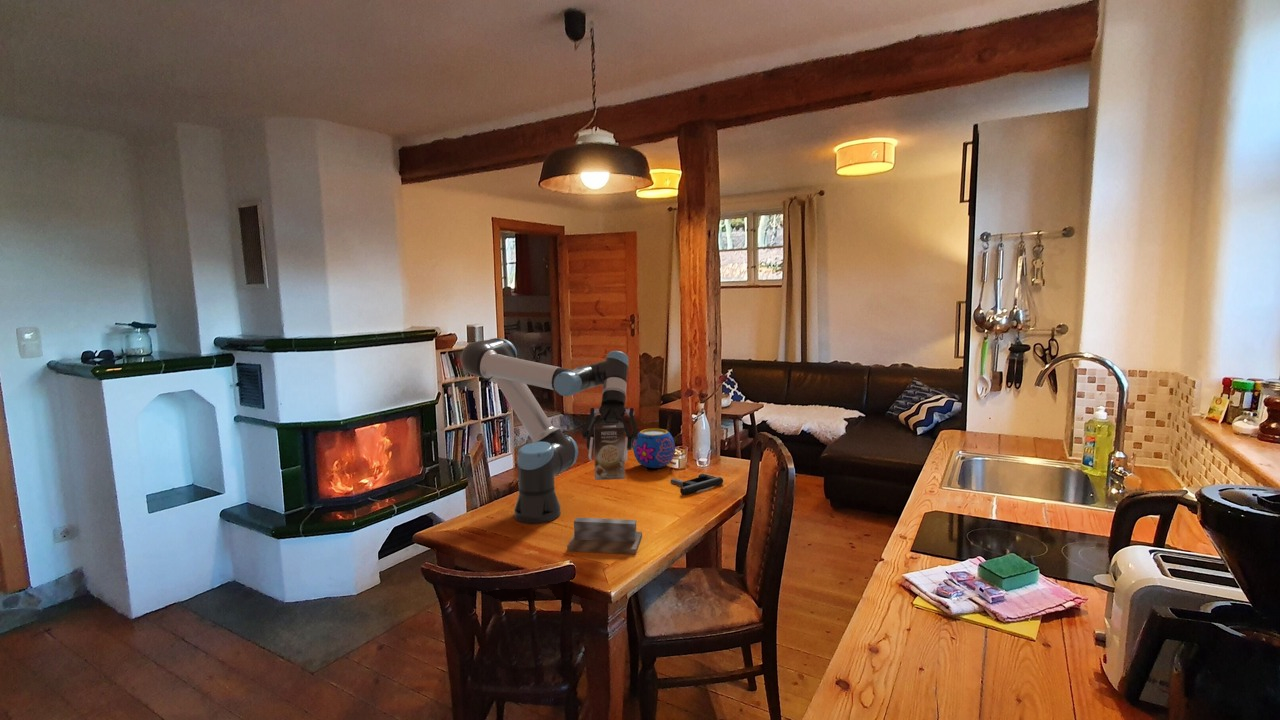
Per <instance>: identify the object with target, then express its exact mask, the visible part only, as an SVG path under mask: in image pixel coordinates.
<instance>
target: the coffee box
mask: <svg viewBox="0 0 1280 720" xmlns="http://www.w3.org/2000/svg"><path fill="white" fill-rule="evenodd" d="M593 427H594V450H593V456H594V457H593V458H594V479H595V481H608V480H612V481H613V480H626V473H625V471H626V470H625V468H626V466H625V465H626V464H625V462H626V461H624V445H625V432H624V425H623V423H619V422H606V423H597V422H593Z"/></svg>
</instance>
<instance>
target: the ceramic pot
mask: <svg viewBox="0 0 1280 720" xmlns="http://www.w3.org/2000/svg"><path fill="white" fill-rule="evenodd" d="M637 433H638V439H634V440H632V451H633V454H634V457H635V459H636V461H637V463H638V464H640V465H641V466H643V467H646V468H649V469H659V468H664V467H665V466H667V465H669V464H670V463H672V461H673V459H674V456H675V454H676V443H675V440H674V438H673V436H672V434H671V432H669V431H668V430H667V429H663V428H656V427H655V428H646V429H642V430H640V431H638V432H637ZM674 453H675V454H674Z"/></svg>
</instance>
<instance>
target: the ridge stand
mask: <svg viewBox="0 0 1280 720" xmlns="http://www.w3.org/2000/svg"><path fill="white" fill-rule="evenodd" d="M573 530H574V531H573V535H572V537H571V539H570V541H568V544H567V545H566V550H567V552H568V551H569V552H581V553H582V552H584V553H585V552H586V553H601V554H602V553H604V554H622V555H623V554H624V555H625V554H626V555H637V553H638V550H639V546H640V544H641V541H642V538H643V531H637V520H636V519H624V518H623V519H620V518H602V517H601V518H596V517H575V519H574V520H573Z"/></svg>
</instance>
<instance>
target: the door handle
mask: <svg viewBox="0 0 1280 720" xmlns="http://www.w3.org/2000/svg"><path fill="white" fill-rule="evenodd" d="M723 483H724V479H723V478H722V477H721V476H714V475H710V474H707V473H700V474H699V475H698V477H696V478H692V479H689V480H680V479H678V478H675V477H674V478H671V479H670V484H673V485H676V486H677V487H678V486H679V487H680V489H679V492H680V495H682V496H687V495H690V494H691V495H692V494H693V493H697V494H698V493H701V492H704V491H708V490H710V489H711V490H712V489H714V487H717V486H720V485H722V484H723Z"/></svg>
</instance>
